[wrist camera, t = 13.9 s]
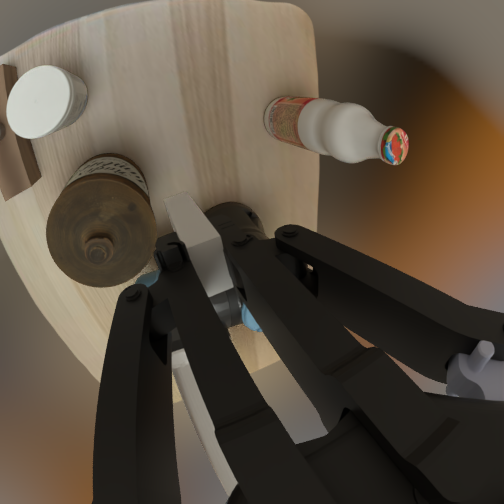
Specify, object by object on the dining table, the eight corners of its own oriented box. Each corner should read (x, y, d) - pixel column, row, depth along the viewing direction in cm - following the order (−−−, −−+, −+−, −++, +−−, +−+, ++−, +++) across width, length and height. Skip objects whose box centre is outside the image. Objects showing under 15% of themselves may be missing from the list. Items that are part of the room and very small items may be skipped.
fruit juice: (253, 117, 47) (364, 143, 25) (285, 87, 46) (405, 96, 24) (281, 149, 53) (389, 196, 31) (310, 120, 51) (423, 151, 30)
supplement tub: (32, 93, 26) (-4, 91, 15) (80, 64, 28) (59, 47, 17) (49, 139, 32) (18, 154, 21) (96, 111, 34) (80, 114, 23)
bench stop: (16, 67, 22) (-8, 61, 14) (41, 176, 35) (23, 194, 27) (-10, 84, 20) (-36, 83, 12) (17, 190, 33) (-4, 210, 25)
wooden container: (150, 152, 42) (166, 188, 25) (145, 229, 49) (161, 305, 32) (69, 154, 36) (27, 193, 19) (72, 232, 42) (50, 311, 25)
